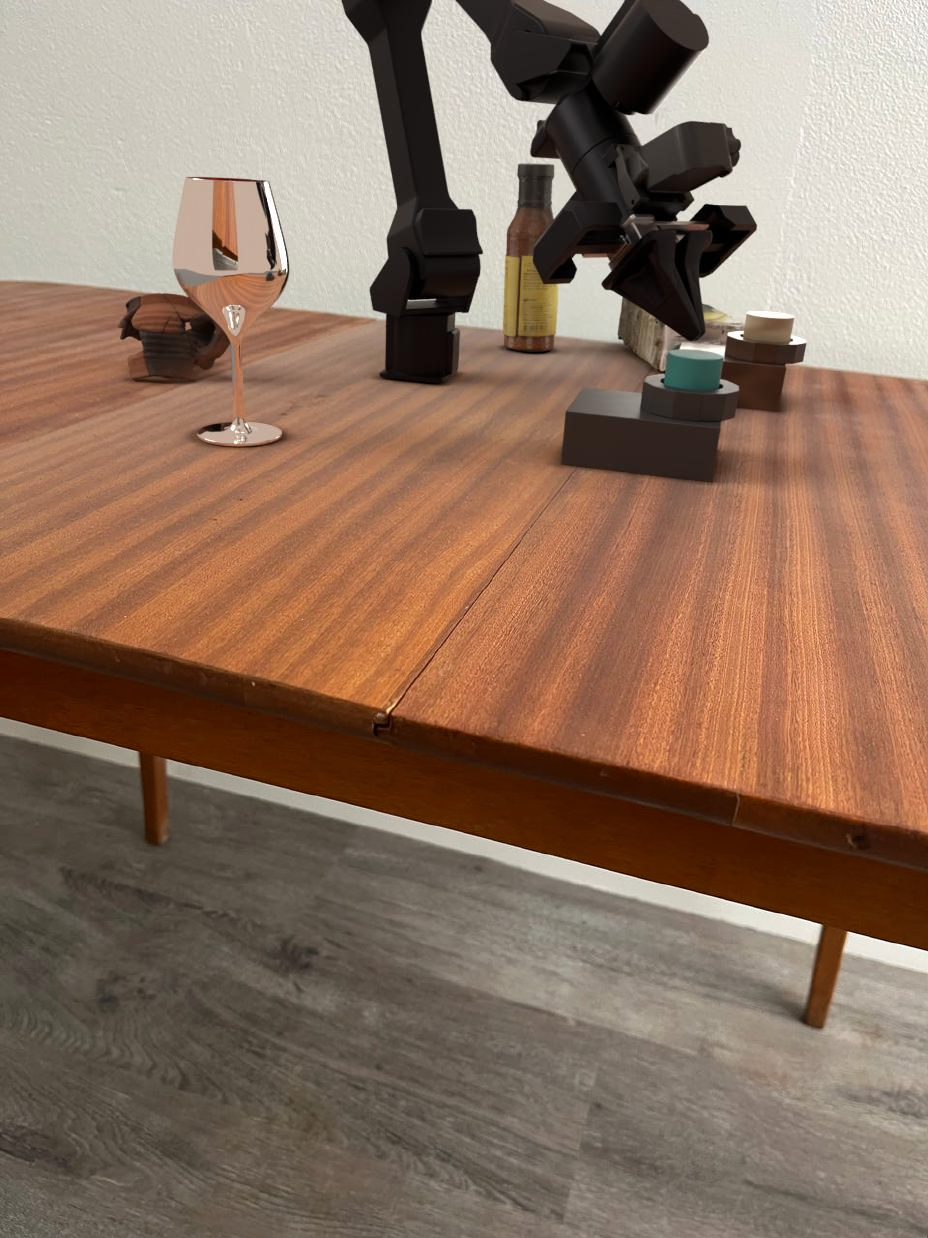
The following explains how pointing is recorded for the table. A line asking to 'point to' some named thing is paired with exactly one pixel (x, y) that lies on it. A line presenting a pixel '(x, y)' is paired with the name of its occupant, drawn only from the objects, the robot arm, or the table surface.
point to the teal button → (693, 369)
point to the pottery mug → (171, 336)
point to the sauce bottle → (529, 266)
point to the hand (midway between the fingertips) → (698, 337)
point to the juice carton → (668, 332)
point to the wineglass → (231, 275)
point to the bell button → (768, 326)
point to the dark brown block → (648, 429)
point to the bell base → (755, 367)
